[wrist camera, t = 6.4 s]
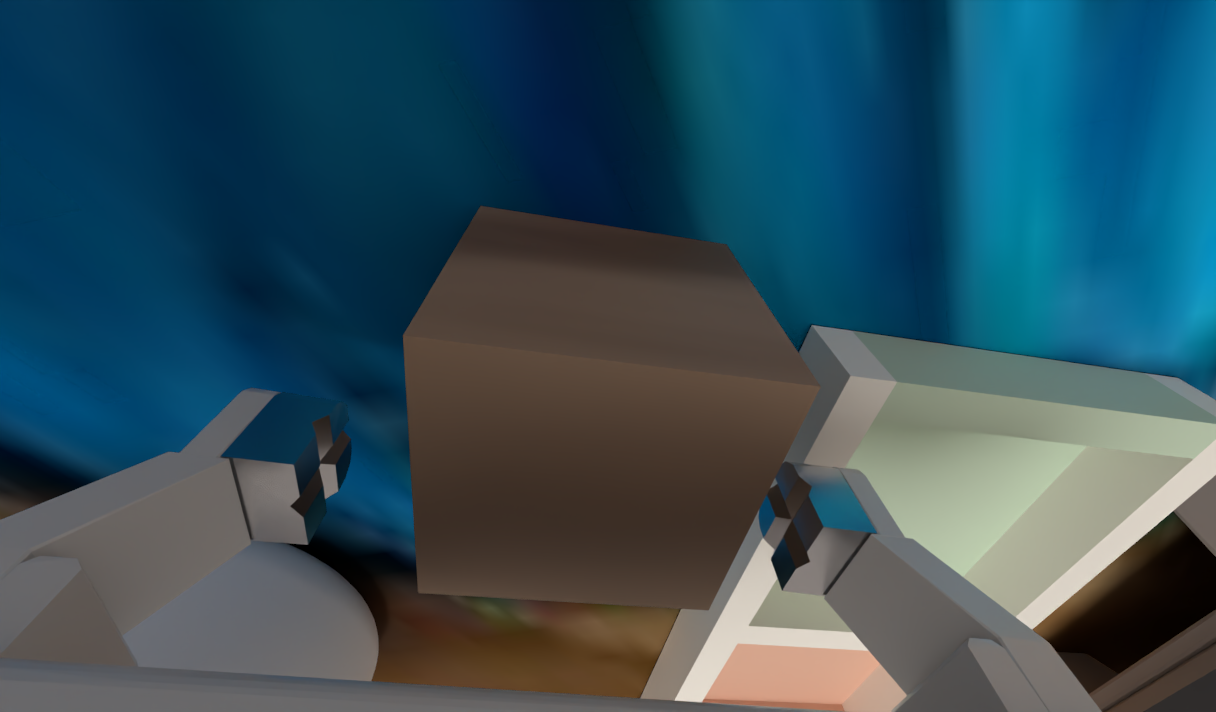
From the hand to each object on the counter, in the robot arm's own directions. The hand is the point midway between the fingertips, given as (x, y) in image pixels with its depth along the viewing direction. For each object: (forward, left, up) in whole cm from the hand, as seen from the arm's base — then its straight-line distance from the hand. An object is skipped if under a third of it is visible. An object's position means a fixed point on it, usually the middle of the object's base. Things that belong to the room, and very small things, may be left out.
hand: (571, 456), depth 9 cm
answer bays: (+7, +10, -3) cm, 13 cm away
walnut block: (-1, 0, -3) cm, 3 cm away
